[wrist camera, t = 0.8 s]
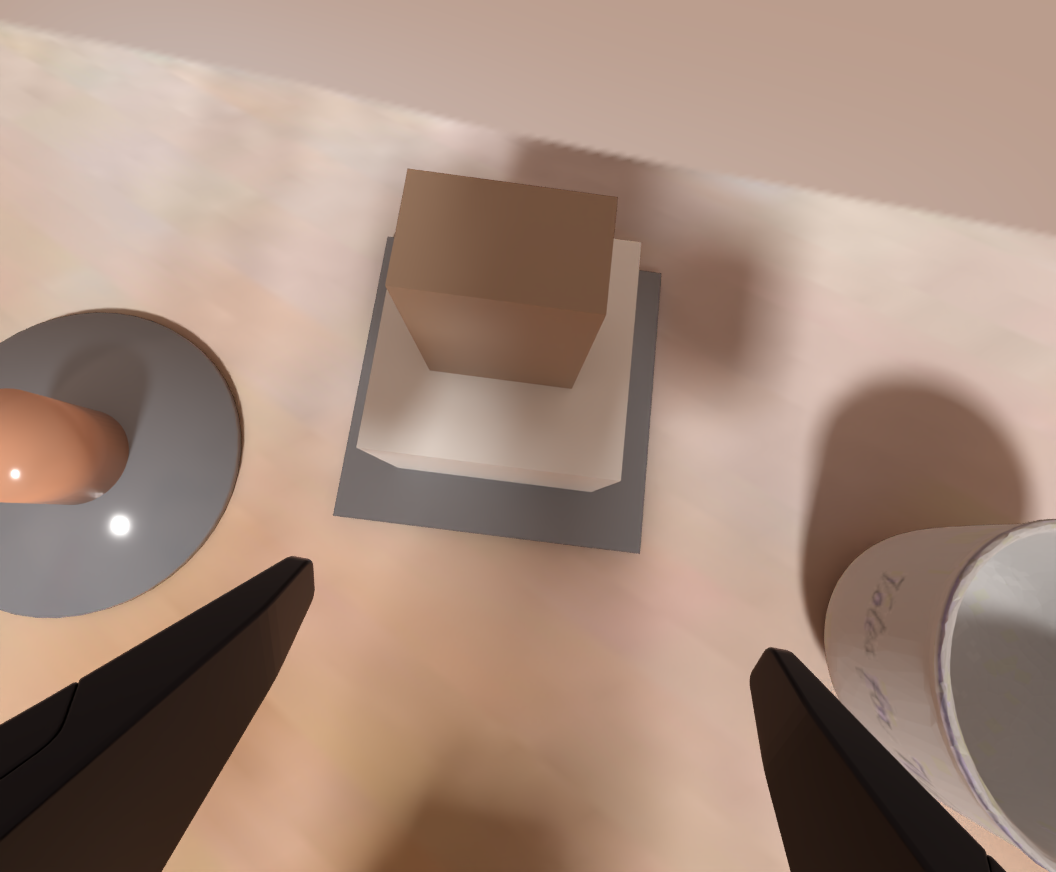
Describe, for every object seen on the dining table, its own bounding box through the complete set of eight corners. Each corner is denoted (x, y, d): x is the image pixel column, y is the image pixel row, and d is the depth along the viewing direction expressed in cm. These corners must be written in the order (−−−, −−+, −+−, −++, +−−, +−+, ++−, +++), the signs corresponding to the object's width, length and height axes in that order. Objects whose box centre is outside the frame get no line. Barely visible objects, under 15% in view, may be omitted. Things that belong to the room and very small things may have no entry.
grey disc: (89, 683, 20) (-10, 721, 16) (-145, 494, 21) (-290, 488, 17) (303, 423, 23) (260, 402, 19) (83, 264, 24) (0, 213, 20)
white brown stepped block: (590, 492, 22) (685, 457, 10) (397, 467, 22) (265, 403, 10) (608, 312, 24) (707, 101, 12) (429, 288, 23) (347, 51, 12)
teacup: (758, 549, 22) (892, 565, 15) (963, 496, 23) (1196, 483, 15) (860, 876, 20) (1086, 1105, 12) (1084, 804, 21) (1431, 975, 13)
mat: (636, 552, 22) (639, 553, 21) (337, 515, 22) (333, 515, 21) (657, 279, 25) (661, 273, 24) (390, 243, 24) (387, 236, 24)
